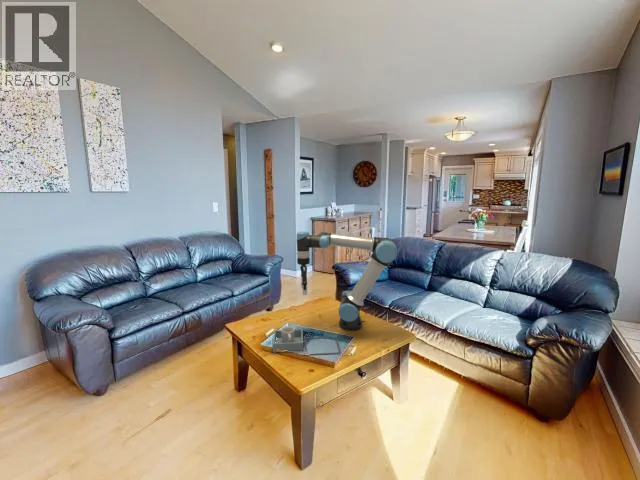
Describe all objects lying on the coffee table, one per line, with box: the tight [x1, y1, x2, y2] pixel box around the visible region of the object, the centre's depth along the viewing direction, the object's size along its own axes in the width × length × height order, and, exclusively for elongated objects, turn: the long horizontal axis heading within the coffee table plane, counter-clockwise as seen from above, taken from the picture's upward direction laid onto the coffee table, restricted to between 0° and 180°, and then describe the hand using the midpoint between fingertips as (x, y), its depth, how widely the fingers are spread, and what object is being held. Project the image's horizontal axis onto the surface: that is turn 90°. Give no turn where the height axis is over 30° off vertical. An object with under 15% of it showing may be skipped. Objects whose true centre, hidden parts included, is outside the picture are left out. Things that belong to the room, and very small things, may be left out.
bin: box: [272, 328, 304, 354], centre depth 177 cm, size 17×17×5 cm
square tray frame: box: [303, 336, 342, 356], centre depth 176 cm, size 21×21×2 cm
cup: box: [280, 325, 296, 343], centre depth 177 cm, size 11×8×8 cm
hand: (304, 291), depth 190 cm, fingers open, 13 cm apart
